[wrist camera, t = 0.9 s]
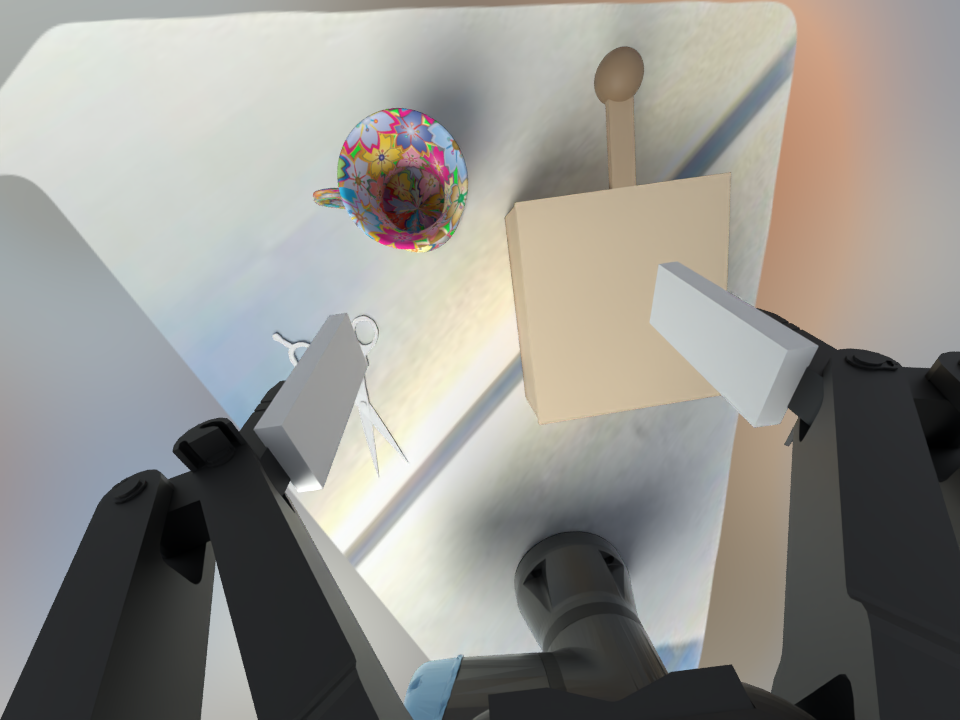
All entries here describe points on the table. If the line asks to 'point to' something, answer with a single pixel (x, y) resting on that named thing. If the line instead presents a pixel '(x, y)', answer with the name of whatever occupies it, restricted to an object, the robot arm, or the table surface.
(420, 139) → the mug
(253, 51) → the table surface
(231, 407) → the table surface
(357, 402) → the scissors
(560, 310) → the lid
